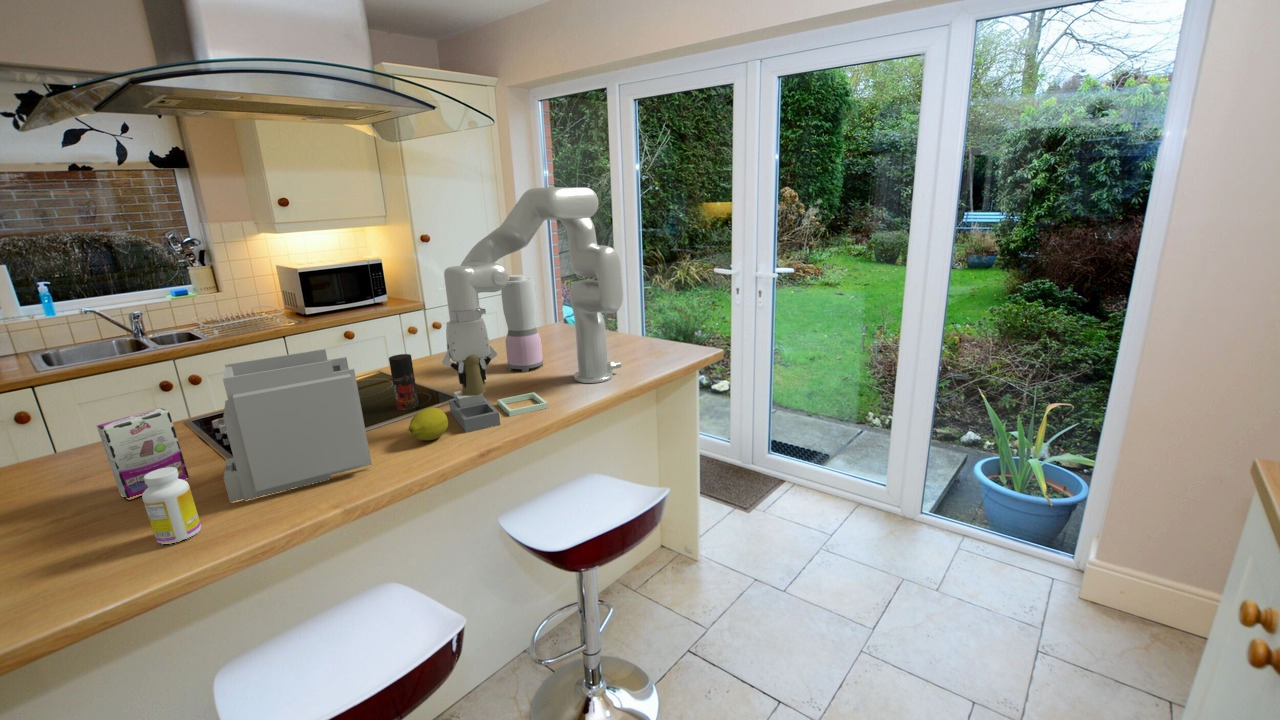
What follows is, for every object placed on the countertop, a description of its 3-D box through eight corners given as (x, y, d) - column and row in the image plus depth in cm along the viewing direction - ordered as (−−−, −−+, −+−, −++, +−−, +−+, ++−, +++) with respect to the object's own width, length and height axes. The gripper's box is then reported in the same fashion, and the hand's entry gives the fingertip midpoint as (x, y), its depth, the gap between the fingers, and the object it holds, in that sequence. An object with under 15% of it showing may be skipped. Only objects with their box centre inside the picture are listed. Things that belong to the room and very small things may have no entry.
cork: (489, 388, 154) (484, 348, 151) (481, 395, 148) (476, 354, 145) (467, 388, 154) (462, 348, 151) (458, 395, 149) (453, 354, 146)
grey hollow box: (450, 411, 163) (448, 399, 162) (482, 405, 167) (480, 393, 166) (465, 432, 148) (464, 419, 147) (500, 424, 152) (498, 412, 151)
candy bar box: (180, 474, 131) (161, 406, 126) (190, 479, 128) (170, 410, 124) (118, 496, 122) (94, 424, 117) (127, 502, 119) (104, 428, 115)
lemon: (440, 428, 151) (436, 400, 149) (458, 435, 146) (454, 405, 144) (402, 443, 143) (397, 413, 141) (419, 450, 138) (414, 419, 136)
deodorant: (392, 408, 167) (384, 359, 163) (407, 401, 172) (399, 353, 168) (408, 410, 165) (400, 360, 160) (423, 403, 170) (415, 354, 166)
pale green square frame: (534, 396, 172) (534, 392, 171) (548, 407, 163) (547, 402, 162) (497, 404, 167) (497, 399, 166) (509, 416, 157) (509, 411, 157)
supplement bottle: (199, 521, 111) (181, 460, 107) (204, 535, 106) (186, 472, 102) (154, 536, 106) (135, 473, 103) (158, 551, 102) (137, 485, 98)
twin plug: (479, 407, 165) (476, 383, 163) (485, 414, 159) (482, 389, 157) (456, 412, 162) (453, 388, 160) (461, 419, 156) (458, 394, 154)
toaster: (232, 477, 128) (202, 365, 121) (362, 446, 142) (342, 344, 135) (230, 510, 114) (196, 386, 107) (374, 472, 128) (353, 359, 121)
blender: (530, 374, 194) (520, 279, 185) (500, 370, 199) (490, 278, 190) (555, 361, 208) (547, 272, 199) (527, 358, 213) (518, 271, 204)
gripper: (493, 309, 153) (500, 375, 158) (427, 317, 145) (437, 386, 150) (501, 313, 146) (508, 382, 151) (433, 322, 139) (443, 394, 144)
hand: (473, 383), depth 151 cm, fingers closed on cork, 3 cm apart
